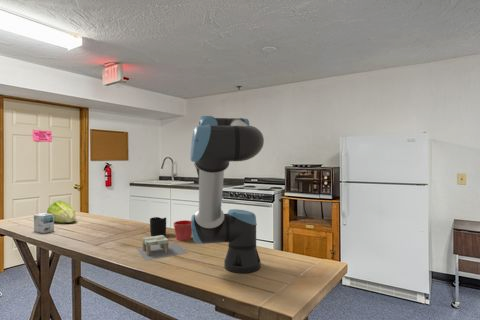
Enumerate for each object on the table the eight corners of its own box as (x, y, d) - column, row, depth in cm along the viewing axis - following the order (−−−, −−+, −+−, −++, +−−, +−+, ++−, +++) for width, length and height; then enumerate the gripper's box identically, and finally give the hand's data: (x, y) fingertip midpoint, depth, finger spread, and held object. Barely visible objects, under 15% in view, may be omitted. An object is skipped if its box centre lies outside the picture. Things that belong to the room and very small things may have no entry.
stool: (168, 239, 141) (146, 242, 136) (168, 252, 141) (146, 255, 136) (162, 235, 150) (142, 237, 145) (162, 246, 150) (142, 249, 145)
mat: (188, 253, 140) (188, 253, 140) (145, 261, 130) (145, 260, 130) (176, 243, 157) (176, 242, 157) (136, 249, 148) (136, 248, 148)
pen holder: (163, 232, 181) (163, 216, 181) (168, 235, 173) (168, 218, 173) (147, 234, 176) (147, 218, 176) (152, 238, 168) (152, 220, 168)
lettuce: (82, 228, 215) (58, 235, 203) (67, 213, 228) (44, 219, 216) (82, 210, 210) (58, 216, 198) (67, 196, 224) (43, 201, 211)
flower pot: (189, 242, 158) (189, 224, 158) (170, 241, 161) (170, 224, 161) (196, 237, 169) (196, 220, 169) (178, 236, 171) (178, 220, 171)
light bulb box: (54, 231, 186) (54, 214, 186) (43, 233, 180) (43, 215, 180) (44, 229, 191) (44, 212, 191) (33, 231, 185) (33, 214, 185)
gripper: (216, 148, 149) (216, 195, 149) (191, 148, 143) (191, 197, 143) (222, 148, 142) (223, 197, 142) (197, 148, 136) (197, 199, 136)
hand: (207, 197), depth 143 cm, fingers closed
